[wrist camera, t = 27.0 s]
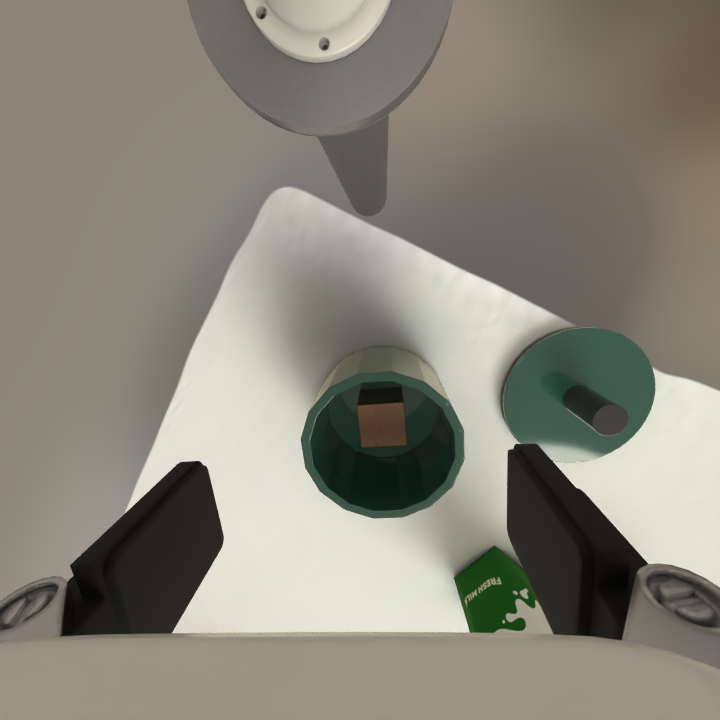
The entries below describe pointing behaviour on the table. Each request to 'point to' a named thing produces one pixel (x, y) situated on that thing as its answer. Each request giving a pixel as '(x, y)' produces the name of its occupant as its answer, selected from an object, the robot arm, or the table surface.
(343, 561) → the table surface
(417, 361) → the pot
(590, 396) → the lid
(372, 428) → the block
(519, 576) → the milk carton
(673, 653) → the robot arm
